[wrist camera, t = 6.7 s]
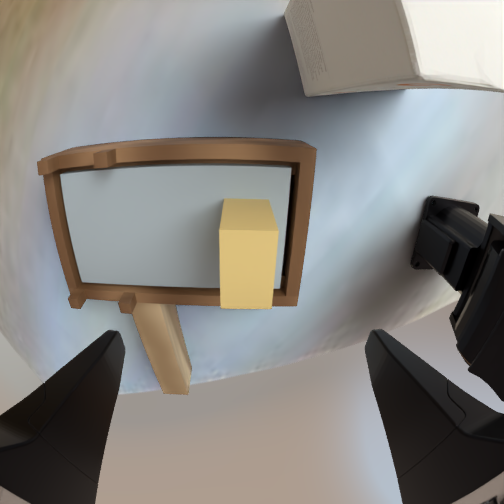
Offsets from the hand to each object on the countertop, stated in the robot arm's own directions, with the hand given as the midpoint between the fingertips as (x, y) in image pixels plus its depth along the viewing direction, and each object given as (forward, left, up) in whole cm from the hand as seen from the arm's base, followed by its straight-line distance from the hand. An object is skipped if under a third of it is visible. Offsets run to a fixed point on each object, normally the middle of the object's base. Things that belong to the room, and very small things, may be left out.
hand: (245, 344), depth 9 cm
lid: (+4, -1, -9) cm, 10 cm away
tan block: (+6, +10, -12) cm, 17 cm away
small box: (-7, -13, -12) cm, 19 cm away
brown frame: (+4, -1, -12) cm, 13 cm away
